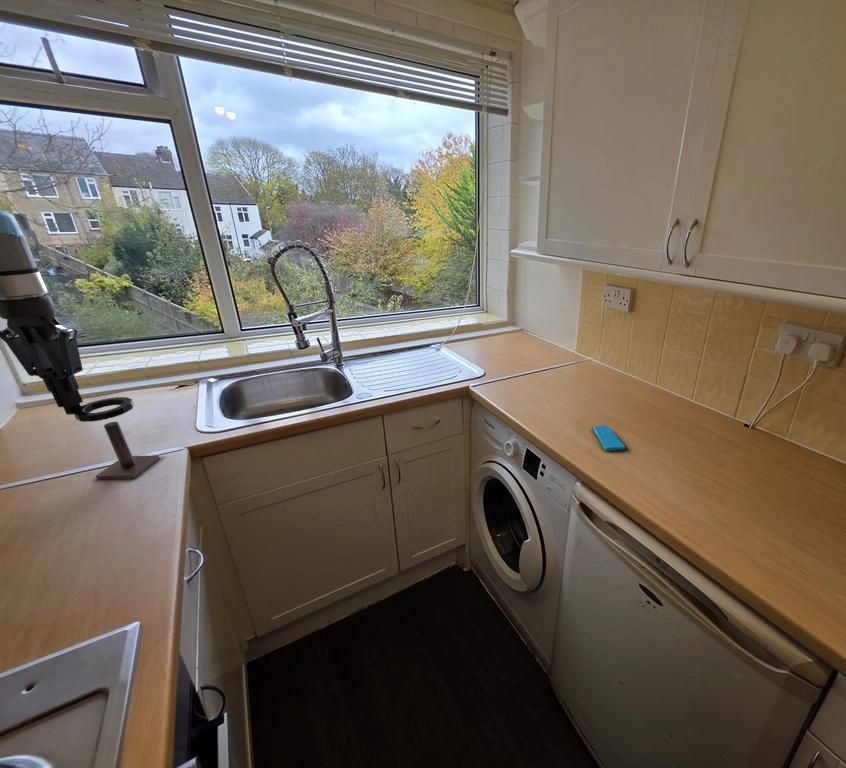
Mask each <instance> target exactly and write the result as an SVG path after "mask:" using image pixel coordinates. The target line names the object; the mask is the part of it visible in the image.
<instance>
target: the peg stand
mask: <svg viewBox="0 0 846 768" xmlns="http://www.w3.org/2000/svg"><path fill="white" fill-rule="evenodd" d="M103 427H104V430H105V432H106V434H107V437H108V440H109V442H110V444H111V447H112V448H113V451H114V454H115V456H116V458H117V461H115V462H114V463H112V464H111V465H109V466H108V467H106V468H105V469H103V470H101V471H100V472H99V473H97V474H96V475H95V478H96V480H127V479H128V480H129V479H133V480H134V479H136V478H137V477H139V476H140V475H141V474H143V472H145V471H146V470H148V469H149V468H150V467H152V466H153V465H154V464H155V463H156V462H158V461H159V460H160V459H161V457H160V455H132V453H131V449H130V447H129V444H128V442H127V439H126V437H125V435H124V432H123V431H122V428H121V425H120V423H119V421H110V422H108V423H105V424H104V425H103Z"/></svg>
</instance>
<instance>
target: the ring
mask: <svg viewBox="0 0 846 768" xmlns="http://www.w3.org/2000/svg"><path fill="white" fill-rule="evenodd" d="M47 374H48V376H49V378H50V380H51V382H52V384H53V387H54V389H55V391H56V393H57V395H58V397H59V399H60V401H61V404H62V406H63V407H62V408H63V410H64V412H65V414H66V415H69V416H71V415H74V418H75V420H77V421H79V422H84V423H85V422H87V423H88V422H98V421H104V420H105V421H106V420H109V419H113V418H117V417H118V416H122V415H124V414H126V413H128V412H129V411H131V410H132V409H134V406H135V403H134V401H133V399H132V398H130V397H127V396H116V397H109V398H101V399H98V400H94V401H91V402H88V403H85V404H83V405H81V403H79V404H77V405H75V406H73V407H68V406H67V404H66V402H65V400H64V397H63V395H62V393H61V391H60V389H59V387H58V385H57V382H56V380H55V377H57V376H58V375H57V373H56V371H55V369H53V370H50V371H48V372H47ZM111 406H116V407H113V408H111V409H108V410H103V411H98V412H97V411H96V410H98V409H102V408H105V407H111ZM93 411H96V412H93Z"/></svg>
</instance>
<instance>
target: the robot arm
mask: <svg viewBox="0 0 846 768" xmlns="http://www.w3.org/2000/svg"><path fill="white" fill-rule="evenodd" d="M47 292H48V289H47V286H46V284H45V282H44V279H43V277H42V275H41V273H40V270H39V268H38V265H37V263H36V261H35V258H34V256H33V254H32V250H31V248H30V247H29V244H28V241H27V239H26V236H25V235H24V233H23V231H22V229H21V227H20V225H19V224H18V221H17V219H16V217H15V215H13V214H12V213H10V212H8V211H7V210H2V209H0V318H1V319H2V320H6V326H7V327H6V328H4V329H3V330H0V339H1V340H2V341H3V342H4V343H6V345H7V347H8V348H9V350H10V351H11V352H12V353H13V355H14V356H15V358H16V360H18V362H19V363H20V365H21V366H22V368H23V369H24V371H25V372H26V373H27V375H28V376H30V377H34V376H37V377H39V379H42V381H43V383H44V385H45V387H46V389H47V391H48V392H50V393H51V394H52V397H53V399H54V401H55V403H56V406H57V407H58V408H63V406H62V404H61V401H60V399H59V397H58V395H57V393H56V391H55V389H54V387H53V384H52V382H51V380H50V378H49V376H48V374H47V372H48V371H50V370H53V369H55V371H56V373H57V375H58V376H57V377H55V380H56V382H57V385H58V387H59V389H60V391H61V393H62V395H63V397H64V400H65V402H66V404H67V406H68V407H73V406H75V405H77V404H79V403H80V404H81V403H83V402H84V401H83V398H82V396H81V394H80V392H79V389H80V386H79V384H78V381H77V379H76V377H75V375H76V374H78V373H81V372H83V370H84V369H83V365H82V360H81V356H80V349H79V346H78V342H77V337H78V330H77V329H76V328H75V327H71V328H68V327H65V326H63V325H61V324H62V323H61V322H60V321H59V320H58V319H57V318H56V316H55V315H56V314H55V313H56V312H57V309H56V307H55V304H54V302H53V300H52V297H51V296H50V295H49V294H46V293H47Z"/></svg>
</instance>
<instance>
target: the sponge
mask: <svg viewBox="0 0 846 768" xmlns="http://www.w3.org/2000/svg"><path fill="white" fill-rule="evenodd" d="M593 431H594V433H595V435H596V436H597V438H598V439H599V441H600V444H601V446H602V447H603V449H604V451H611V452H612V451H623V450H626V445H625V444H624V443H623V442H622V441H621V440H620V438H619V437H618V436H617V435H616V434H615V432H614V431H613V430H612V429H611V428H610V427H608V426H607V425H595V426H594V427H593Z"/></svg>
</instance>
